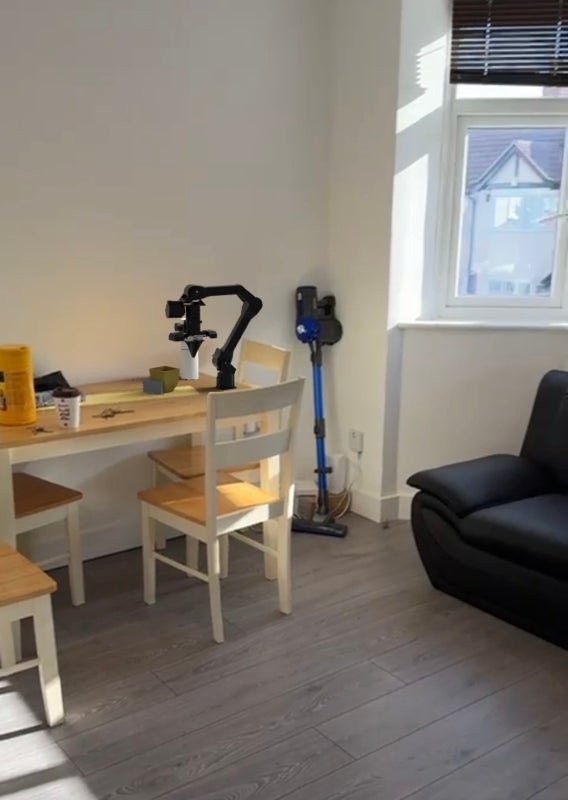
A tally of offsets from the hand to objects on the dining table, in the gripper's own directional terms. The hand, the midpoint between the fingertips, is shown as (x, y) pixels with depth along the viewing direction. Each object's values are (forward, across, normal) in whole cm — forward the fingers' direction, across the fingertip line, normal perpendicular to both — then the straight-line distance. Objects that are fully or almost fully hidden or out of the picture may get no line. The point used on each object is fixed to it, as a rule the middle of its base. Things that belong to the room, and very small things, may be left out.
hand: (193, 357), depth 301 cm
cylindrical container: (+13, -10, -21) cm, 27 cm away
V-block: (+13, +15, -6) cm, 21 cm away
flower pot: (+13, +10, -4) cm, 17 cm away
